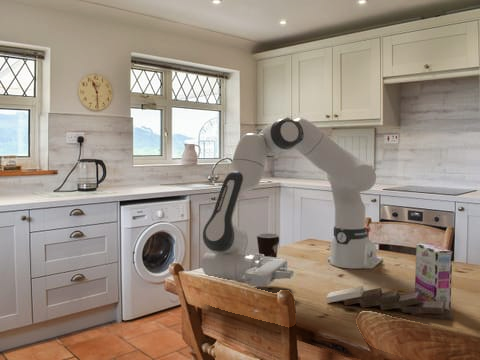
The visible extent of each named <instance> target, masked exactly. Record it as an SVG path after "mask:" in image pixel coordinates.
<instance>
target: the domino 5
mask: <svg viewBox="0 0 480 360" xmlns="http://www.w3.org/2000/svg"><path fill="white" fill-rule="evenodd" d="M453 313H454V312H453V310H451V309H450V310H444V312H443V314H434V313H410V315H411V316H416V317H417V316H418V317H424V318H431V319H439V320H444V319H446V321H452V320H454V317H453V316H454V315H453Z"/></svg>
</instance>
